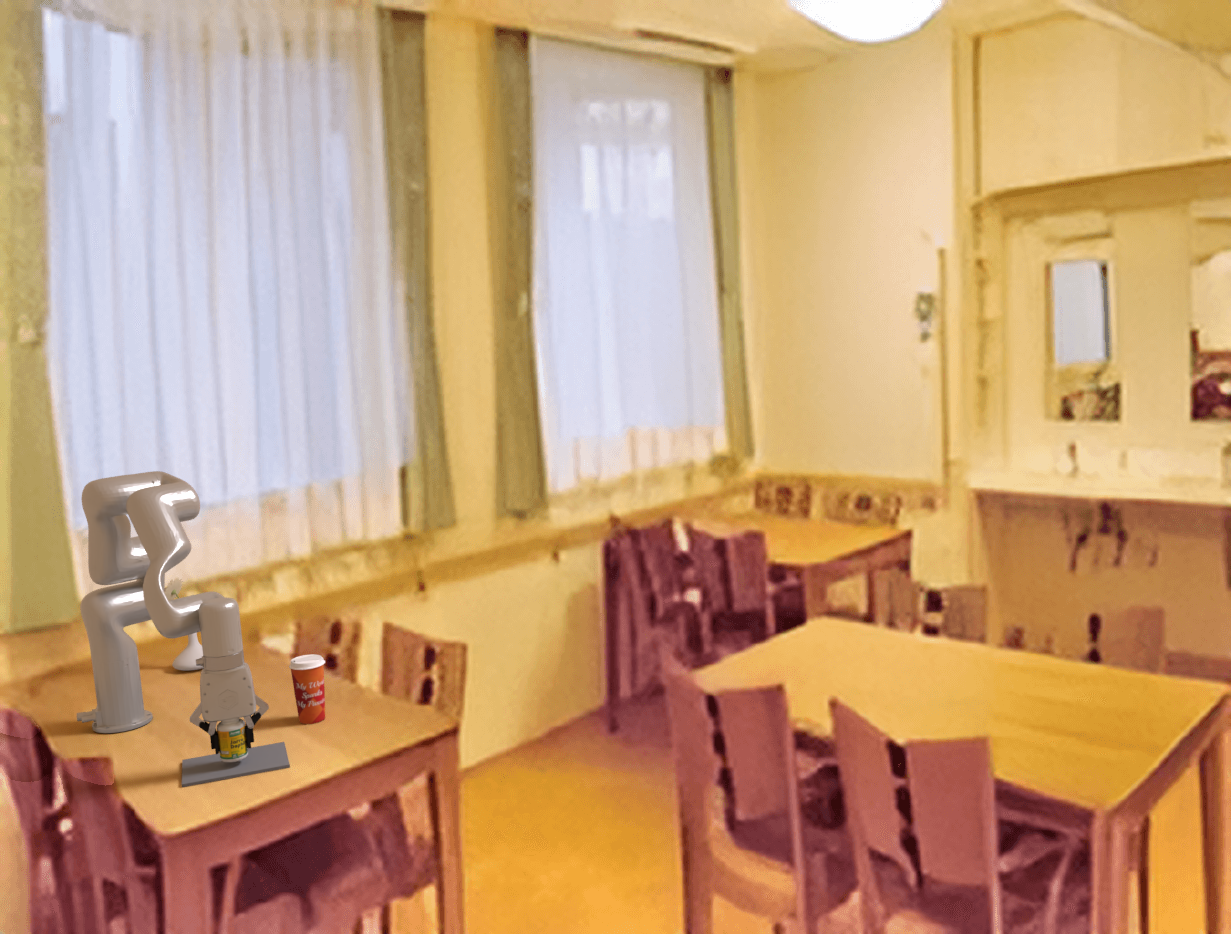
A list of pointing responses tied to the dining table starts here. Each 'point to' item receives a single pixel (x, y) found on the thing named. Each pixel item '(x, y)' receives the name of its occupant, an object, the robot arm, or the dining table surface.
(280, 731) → the dining table surface
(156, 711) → the dining table surface
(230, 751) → the supplement bottle
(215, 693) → the robot arm
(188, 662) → the flower in vase
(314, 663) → the paper cup
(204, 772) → the charcoal mat
